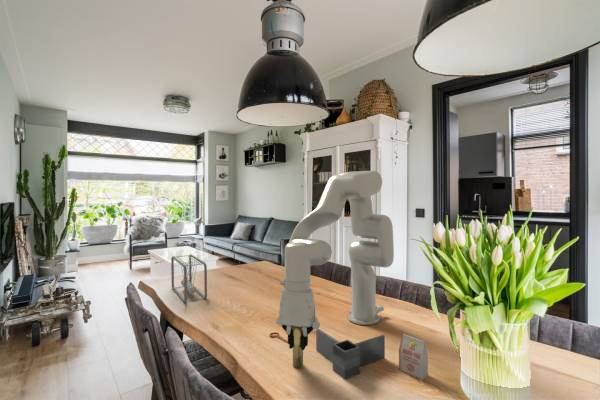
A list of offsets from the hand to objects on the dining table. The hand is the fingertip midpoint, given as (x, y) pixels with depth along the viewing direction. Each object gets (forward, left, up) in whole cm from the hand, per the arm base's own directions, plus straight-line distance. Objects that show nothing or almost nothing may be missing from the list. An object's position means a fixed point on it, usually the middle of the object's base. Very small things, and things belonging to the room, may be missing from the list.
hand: (297, 346), depth 93 cm
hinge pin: (0, 0, -6) cm, 6 cm away
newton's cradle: (+14, -88, -6) cm, 89 cm away
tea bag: (-26, +20, -6) cm, 33 cm away
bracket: (-16, +4, -6) cm, 17 cm away
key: (-5, -16, -6) cm, 18 cm away
